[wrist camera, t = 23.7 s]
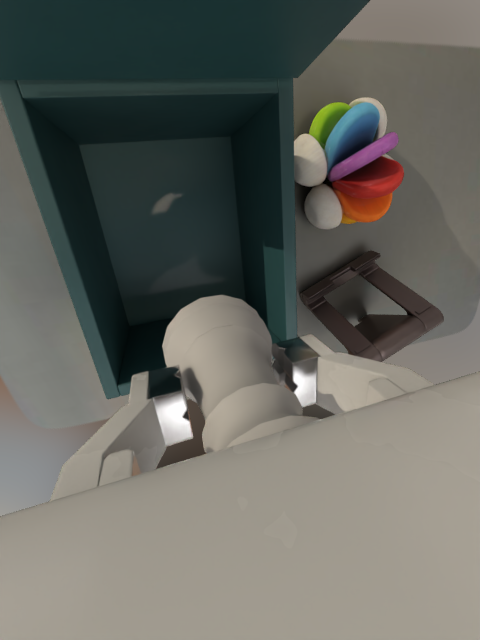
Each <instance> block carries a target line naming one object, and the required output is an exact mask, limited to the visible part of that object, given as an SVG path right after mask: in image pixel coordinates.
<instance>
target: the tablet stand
mask: <svg viewBox="0 0 480 640" xmlns="http://www.w3.org/2000/svg"><path fill="white" fill-rule="evenodd" d="M379 257H380V253H377V252H375V251H371V250H370V251H368V252H366V253H365V254H363V255H362V256H360V257H358V258H357V259H355V260H353V261H352V262H350V263H349V264H347V265H345V266H344V267H342V268H341V269H339V270H337V271H336V272H334V273H332V274H331V275H329V276H328V277H326V278H324V279H323V280H321V281H320V282H318V283H316V284H315V285H313V286H312V287H310V288H308V289H307V290H305V291H303V292H302V293H300V297H301V299H302V301H303V303H304V304H305V305H306V307H307V308H308V309H309V310H310V311H311V312H312V313H313V314H314V315H315V316H316V317H317V318H318V319H319V320H320V321H321V322H322V323H323V324H324V325H325V326H326V328H327V329H328V330H329V331H330V332H331V333H332V334H333V335H334V336H335V337H336V338H337V339H338V340H339V341H340V342H341V343H342V344H343V345H344V346H345V348H346V349H347V351H348V354H350V355H354V356H358V357H362V358H366V359H371V360H375V361H379V362H382V361H384V360H385V359H387V358H388V357H390V356H391V355H393V354H395V353H396V352H397V351H399V350H401V349H402V348H404V347H405V346H407V345H409V344H410V343H412V342H413V341H415V340H416V339H418V338H419V337H421V336H422V335H424V334H426V333H427V332H429V331H430V330H432V329H433V328H435V327H436V326H438V325H439V324H441V323H442V322H443V321H444V317H443V314H442V313H441V311H440V310H439V309H438V308H436V307H435V306H434V305H432V304H431V303H429V302H428V301H427V300H425V299H424V298H422V297H421V296H419V295H418V294H417V293H415V292H414V291H412V290H411V289H409V288H408V287H407V286H405V285H404V284H402V283H401V282H399V281H398V280H397V279H395V278H394V277H392V276H391V275H389V274H388V273H387V272H385V271H384V270H382V269H381V268H379V266H378V265H377V264H375V260H376V259H378V258H379ZM356 275H361V276H362V277H363V278H364V279H366V280H367V281H368V282H370V283H371V284H372V285H374V286H375V287H376V288H377V289H379V290H380V291H381V292H383V293H384V294H385V295H387V296H388V297H389V298H390V299H392V300H393V301H394V302H396V303H397V304H398V305H400V306H401V307H402V308H403V309H404V310H405V311H406V312H407V315H375V314H369V315H366V316H364V317H363V318H361V319H360V320H358V321H359V322H361V323H359V324H358V325H356V326H355V327H354V326H353V325H352V324H350V323H349V322H348V321H347V320H346V319H345V318H344V317H343V316H342V315H341V314H340V313H339V312H338V311H337V310H336V309H335V308H334V307H333V306H332V305H331V304H329V303H328V302H327V301H326V299H325V298H324V297H323V296H324V295H326V294H328V293H329V292H331V291H332V290H334V289H336V288H337V287H339V286H340V285H342V284H344V283H345V282H347V281H348V280H350V279H352V278H353V277H355V276H356Z"/></svg>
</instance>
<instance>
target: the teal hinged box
mask: <svg viewBox="0 0 480 640" xmlns="http://www.w3.org/2000/svg"><path fill="white" fill-rule="evenodd" d="M0 99H1V102H2V105H3V107H4V110H5V113H6V116H7V119H8V121H9V124H10V127H11V130H12V133H13V136H14V138H15V141H16V144H17V147H18V150H19V153H20V155H21V158H22V161H23V164H24V167H25V169H26V172H27V175H28V178H29V181H30V184H31V186H32V189H33V192H34V195H35V198H36V201H37V203H38V206H39V209H40V212H41V215H42V217H43V220H44V223H45V226H46V229H47V232H48V234H49V237H50V240H51V243H52V246H53V249H54V251H55V254H56V257H57V260H58V263H59V266H60V268H61V271H62V274H63V277H64V280H65V282H66V285H67V288H68V291H69V294H70V297H71V299H72V302H73V305H74V308H75V311H76V314H77V316H78V319H79V322H80V325H81V328H82V330H83V333H84V336H85V339H86V342H87V345H88V347H89V350H90V353H91V356H92V359H93V362H94V364H95V367H96V370H97V373H98V376H99V378H100V381H101V384H102V387H103V390H104V393H105V395H106V398H107V399H111V398H115V397H119V396H120V395H121V396H123V395H128V394H130V387H131V379H132V376H133V375H134V374H138V373H142V372H146V371H151V370H156V369H161V368H166V367H167V365H166V362H165V357H164V352H163V347H162V345H163V341H164V337H165V333H166V330H167V326H168V325H169V324H170V322H171V321H172V320H173V319H174V317H175V316H176V315H177V313H178V312H179V311H180V310H181V309H182V308H184V307H186V306H187V305H189V304H191V303H192V302H194V301H196V300H198V299H199V298H204V297H210V296H217V295H225V296H229V297H233V298H237V299H241V300H243V301H244V302H246V303H247V304H248V305H249V306H251V307H252V308H253V309H255V310H256V311H257V313H258V315H259V317H260V318H261V319H262V320H263V321H264V323H265V325H266V327H267V329H268V331H269V333H270V335H271V339H272V344H274V343H277V342H281V341H285V340H289V339H293V338H297V300H296V239H295V177H294V115H293V78H209V79H84V80H0ZM273 359H275V358H274V357H273V356H272V360H273Z"/></svg>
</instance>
